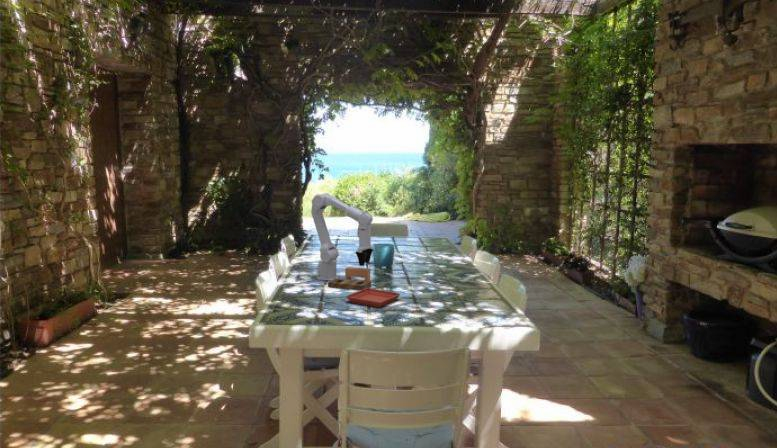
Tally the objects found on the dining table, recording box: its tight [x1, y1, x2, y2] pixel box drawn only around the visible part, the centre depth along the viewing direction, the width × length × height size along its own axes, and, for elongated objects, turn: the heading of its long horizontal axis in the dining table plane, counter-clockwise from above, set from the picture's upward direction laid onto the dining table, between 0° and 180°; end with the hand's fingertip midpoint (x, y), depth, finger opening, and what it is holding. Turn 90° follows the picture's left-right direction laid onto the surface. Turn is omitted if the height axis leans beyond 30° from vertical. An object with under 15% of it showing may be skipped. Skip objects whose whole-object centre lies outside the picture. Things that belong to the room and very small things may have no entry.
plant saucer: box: [345, 288, 401, 308], centre depth 245 cm, size 18×18×3 cm
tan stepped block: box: [344, 266, 371, 282], centre depth 279 cm, size 12×4×7 cm, turn 72°
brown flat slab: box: [327, 278, 372, 291], centre depth 269 cm, size 19×9×2 cm, turn 72°
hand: (364, 264), depth 278 cm, fingers open, 7 cm apart
